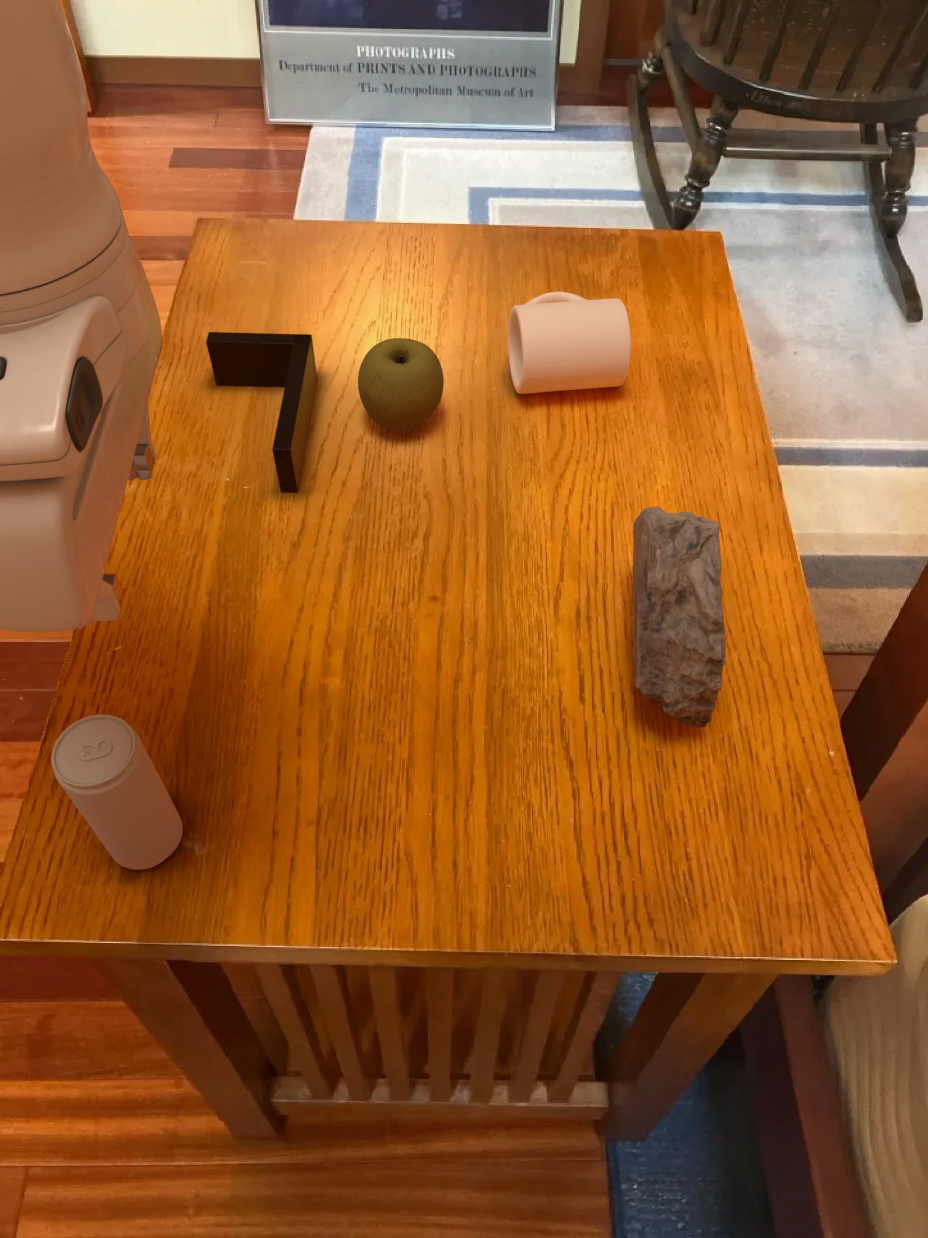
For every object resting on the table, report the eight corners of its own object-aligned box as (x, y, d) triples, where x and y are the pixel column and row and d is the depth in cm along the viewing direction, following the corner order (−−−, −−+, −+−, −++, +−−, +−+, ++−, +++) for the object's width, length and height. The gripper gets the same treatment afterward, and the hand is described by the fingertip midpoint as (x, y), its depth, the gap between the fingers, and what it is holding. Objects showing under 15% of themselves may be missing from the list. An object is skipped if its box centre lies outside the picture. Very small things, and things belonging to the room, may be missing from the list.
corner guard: (188, 490, 80) (174, 446, 76) (219, 375, 90) (208, 331, 86) (297, 492, 81) (290, 449, 77) (317, 377, 90) (311, 334, 86)
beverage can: (105, 818, 62) (43, 726, 52) (177, 795, 63) (130, 702, 54) (115, 884, 59) (53, 800, 50) (191, 859, 60) (144, 772, 51)
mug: (622, 403, 88) (636, 332, 82) (519, 411, 88) (526, 340, 81) (594, 327, 96) (605, 256, 89) (498, 333, 95) (503, 262, 88)
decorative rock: (705, 750, 66) (763, 624, 54) (611, 739, 66) (648, 611, 54) (699, 575, 76) (747, 435, 64) (617, 566, 76) (649, 425, 64)
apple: (455, 402, 88) (456, 338, 82) (422, 456, 84) (421, 392, 78) (382, 382, 90) (378, 318, 84) (346, 434, 85) (339, 370, 79)
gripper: (12, 163, 42) (100, 401, 54) (-149, 481, 30) (9, 705, 41) (152, 163, 43) (211, 401, 54) (49, 478, 30) (153, 702, 41)
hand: (123, 535), depth 47 cm, fingers open, 8 cm apart
